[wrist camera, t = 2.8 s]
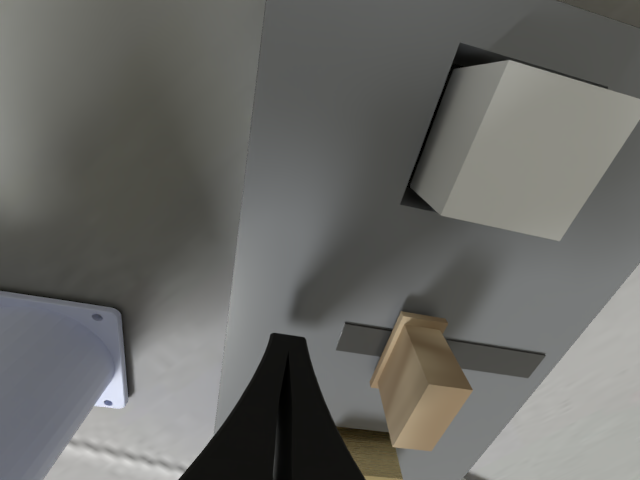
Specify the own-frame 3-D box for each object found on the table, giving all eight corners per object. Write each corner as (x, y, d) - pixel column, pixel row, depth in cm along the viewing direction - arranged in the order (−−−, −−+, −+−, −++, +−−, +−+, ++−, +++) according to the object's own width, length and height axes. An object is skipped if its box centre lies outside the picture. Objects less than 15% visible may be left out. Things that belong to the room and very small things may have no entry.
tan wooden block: (369, 382, 14) (384, 452, 11) (401, 311, 12) (428, 375, 9) (408, 387, 14) (432, 457, 12) (445, 318, 12) (484, 383, 10)
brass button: (310, 451, 19) (310, 511, 16) (324, 413, 17) (327, 472, 15) (369, 457, 20) (378, 515, 17) (388, 420, 18) (402, 479, 15)
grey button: (409, 186, 11) (440, 215, 9) (453, 69, 10) (509, 59, 7) (502, 207, 12) (559, 241, 9) (560, 99, 10) (651, 102, 7)
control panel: (221, 428, 21) (208, 480, 18) (286, -43, 10) (276, -97, 7) (430, 450, 23) (446, 500, 20) (681, 82, 12) (795, 79, 9)
